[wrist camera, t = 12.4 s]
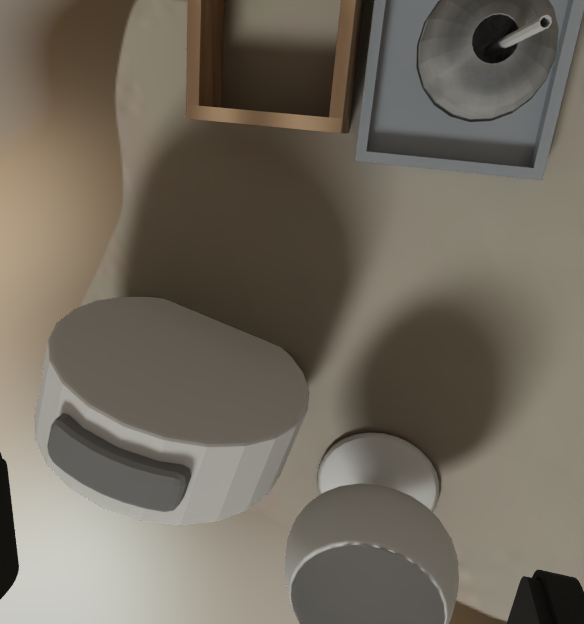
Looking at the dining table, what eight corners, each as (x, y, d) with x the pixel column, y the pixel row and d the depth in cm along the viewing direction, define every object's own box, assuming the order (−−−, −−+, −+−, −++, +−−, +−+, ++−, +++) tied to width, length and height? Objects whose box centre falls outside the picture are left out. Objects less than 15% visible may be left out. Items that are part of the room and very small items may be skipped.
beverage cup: (424, 14, 38) (437, -97, 20) (528, 22, 37) (645, -88, 19) (406, 119, 41) (403, 108, 22) (503, 130, 40) (584, 128, 21)
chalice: (470, 450, 50) (494, 574, 36) (421, 557, 55) (425, 701, 41) (329, 402, 51) (300, 504, 37) (294, 511, 56) (257, 636, 43)
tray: (585, -30, 36) (595, -40, 34) (535, 177, 41) (542, 180, 39) (381, -38, 39) (380, -48, 36) (357, 159, 43) (354, 160, 41)
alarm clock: (108, 345, 55) (-44, 454, 36) (123, 281, 52) (-34, 364, 33) (298, 426, 53) (239, 583, 35) (323, 365, 50) (274, 500, 32)
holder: (368, -39, 39) (362, -61, 34) (348, 132, 43) (340, 133, 38) (213, -45, 41) (188, -67, 36) (208, 119, 45) (185, 118, 40)
